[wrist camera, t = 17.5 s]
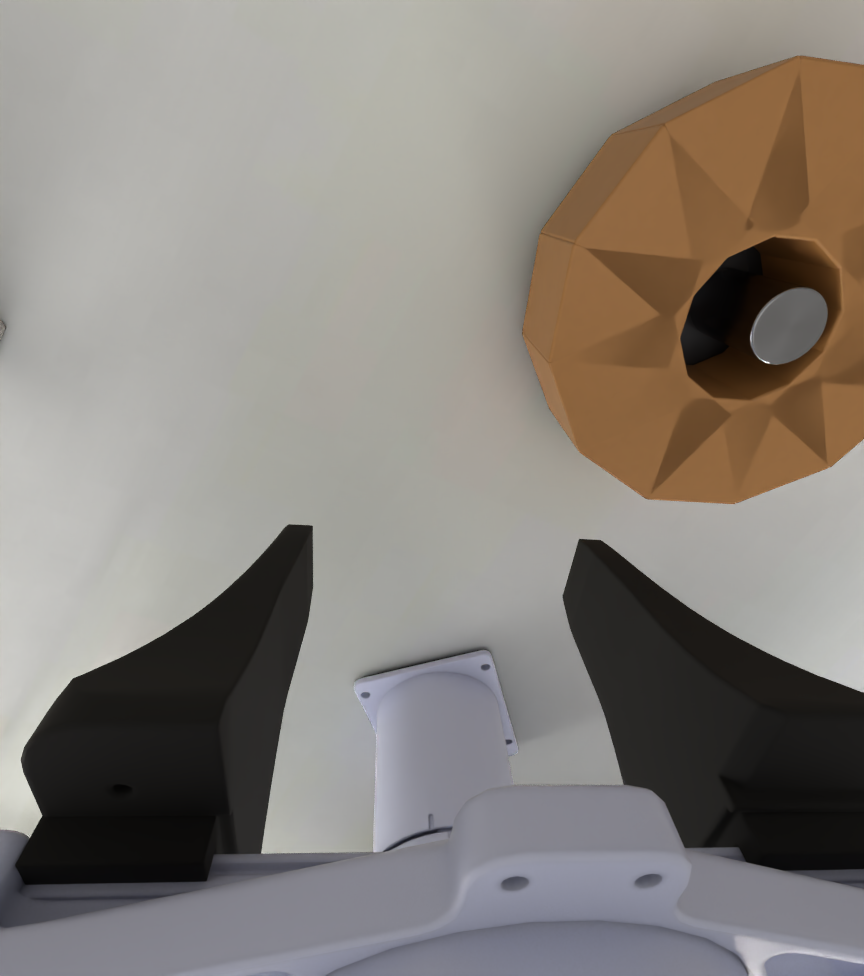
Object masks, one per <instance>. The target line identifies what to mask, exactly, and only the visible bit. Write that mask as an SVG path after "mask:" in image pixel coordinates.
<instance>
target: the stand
mask: <svg viewBox="0 0 864 976" xmlns="http://www.w3.org/2000/svg"><path fill="white" fill-rule="evenodd" d="M827 320H828V307H827V303H826V301H825V299H824V297H823V296H822V295H821V294H820V293H819V292H818V291H817V290H815V289H813V288H810V287H806V286H802V285H798V284H794V283H790V282H786V281H782V280H778V279H774V278H770V277H766V276H763V271H762V262H761V254H760V253H759V251H758V250H757V249H756V248H755V247H754V246H752V247H750V248H748V249H746V250H743V251H741V252H739V253H737V254H735V255H732V256H730V257H728V258H727V259H726V260H725V261H724V262H723V263H722V264H721V266H720V267H719V268H718V269H717V270H716V271H715V272H714V273H713V275H712V276H711V277H710V278H709V279H708V280H707V281H706V282H705V284H704V285H703V286H702V287H701V288H700V289H699V290H698V291H697V293H696V294H695V295H694V297H693V300H692V303H691V306H690V309H689V312H688V315H687V318H686V321H685V324H684V327H683V331H682V334H681V337H680V341H681V345H682V350H683V355H684V360H685V365H695V364H697V363H700V362H702V361H704V360H707V359H709V358H711V357H714V356H716V355H718V354H721V353H723V352H724V351H725V350H726V349H727V348H728V347H729V346H730V347H732V348H734V349H736V350H738V351H740V352H742V353H745V354H747V355H749V356H751V357H753V358H755V359H757V360H759V361H761V362H763V363H766V364H770V365H780V364H785V363H789V362H792V361H794V360H796V359H798V358H800V357H802V356H803V355H804V354H806V353H807V352H808V351H809V350H810V349H811V348H812V347H813V346H814V345H815V344H816V343H817V342H818V340H819V339H820V337H821V336H822V334H823V332H824V329H825V327H826V324H827Z"/></svg>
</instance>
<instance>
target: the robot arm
mask: <svg viewBox="0 0 864 976" xmlns="http://www.w3.org/2000/svg"><path fill="white" fill-rule="evenodd" d="M312 590H313V526H310V525H290V524H289V525H287V526H286V527H285V528H284V529H283V530H282V532H281V533H280V534H279V535H278V537H277V538H276V539H275V540H274V541H273V543H272V544H271V545H270V546H269V547H268V548H267V549H266V551H265V552H264V553H263V554H262V555H261V556H260V557H259V558H258V559H257V560H256V561H255V562H254V563H253V564H252V565H251V567H250V568H249V569H248V570H247V571H246V572H245V573H244V574H243V575H241V576H240V577H239V578H238V579H237V580H236V581H235V582H234V583H233V584H232V585H231V586H230V587H229V588H227V589H226V590H225V591H224V592H223V593H222V594H221V595H219V596H218V597H217V598H216V599H215V600H213V601H212V602H211V603H210V604H208V605H207V606H206V607H204V608H203V609H202V610H200V611H199V612H198V613H196V614H195V615H194V616H192V617H191V618H189V619H187V620H186V621H184V622H183V623H181V624H180V625H178V626H177V627H175V628H173V629H172V630H170V631H169V632H167V633H166V634H164V635H162V636H161V637H159V638H157V639H155V640H153V641H152V642H150V643H148V644H146V645H144V646H143V647H141V648H139V649H137V650H135V651H133V652H131V653H129V654H127V655H125V656H123V657H121V658H119V659H117V660H115V661H112V662H110V663H108V664H106V665H103V666H101V667H99V668H97V669H94V670H92V671H90V672H88V673H85V674H83V675H81V676H78V677H76V678H73V679H72V680H71V682H70V683H69V684H68V686H67V687H66V688H65V689H64V690H63V692H62V693H61V694H60V695H59V697H58V698H57V699H56V701H55V702H54V703H53V705H52V706H51V708H50V709H49V710H48V712H47V713H46V715H45V716H44V718H43V720H42V721H41V723H40V724H39V726H38V727H37V729H36V730H35V732H34V733H33V735H32V736H31V738H30V739H29V741H28V742H27V744H26V745H25V747H24V750H23V754H22V757H21V763H22V768H23V772H24V775H25V777H26V779H27V781H28V784H29V786H30V788H31V791H32V793H33V795H34V797H35V800H36V802H37V804H38V806H39V809H40V811H41V813H42V815H43V816H42V818H41V819H40V821H39V823H38V825H37V827H36V828H35V830H34V832H33V834H32V835H31V837H30V838H29V837H28V836H27V835H25V834H23V833H20V832H18V831H12V830H0V976H864V693H863V692H860V691H857V690H855V689H852V688H849V687H847V686H844V685H841V684H839V683H836V682H833V681H831V680H828V679H825V678H823V677H820V676H817V675H815V674H813V673H810V672H808V671H806V670H803V669H801V668H799V667H796V666H794V665H792V664H790V663H787V662H785V661H783V660H781V659H779V658H777V657H774V656H772V655H770V654H768V653H766V652H764V651H762V650H760V649H758V648H756V647H755V646H753V645H751V644H749V643H747V642H745V641H743V640H741V639H739V638H737V637H736V636H734V635H732V634H730V633H729V632H727V631H725V630H723V629H722V628H720V627H719V626H717V625H715V624H714V623H712V622H710V621H709V620H707V619H705V618H704V617H702V616H701V615H699V614H698V613H696V612H695V611H693V610H692V609H690V608H689V607H687V606H686V605H685V604H683V603H682V602H680V601H679V600H677V599H676V598H675V597H673V596H672V595H670V594H669V593H668V592H667V591H665V590H664V589H663V588H661V587H660V586H659V585H657V584H656V583H655V582H653V581H652V580H651V579H650V578H648V577H647V576H646V575H645V574H643V573H642V572H641V571H640V570H638V569H637V568H636V567H635V566H633V565H632V564H631V563H630V562H628V561H627V560H626V559H625V558H624V557H622V556H621V555H620V554H619V553H617V552H616V551H615V550H613V549H612V548H611V547H610V546H608V545H607V544H605V543H604V542H603V541H601V540H588V539H579V541H578V545H577V548H576V552H575V555H574V559H573V562H572V566H571V569H570V573H569V576H568V580H567V583H566V586H565V590H564V593H563V601H564V605H565V610H566V614H567V618H568V622H569V625H570V629H571V632H572V634H573V637H574V639H575V642H576V644H577V647H578V649H579V652H580V654H581V657H582V659H583V662H584V664H585V667H586V669H587V671H588V674H589V676H590V679H591V681H592V684H593V686H594V688H595V691H596V693H597V696H598V698H599V701H600V703H601V706H602V709H603V712H604V715H605V718H606V721H607V725H608V728H609V732H610V735H611V738H612V742H613V745H614V749H615V753H616V756H617V760H618V764H619V768H620V772H621V776H622V779H623V783H624V785H514V782H513V777H512V772H511V767H510V762H509V757H508V756H512V755H515V754H516V753H517V752H518V745H517V741H516V738H515V735H514V731H513V728H512V724H511V721H510V717H509V714H508V710H507V707H506V703H505V700H504V696H503V693H502V689H501V686H500V683H499V679H498V676H497V672H496V669H495V665H494V662H493V658H492V655H491V653H490V652H489V651H487V650H480V651H476V652H471V653H467V654H463V655H458V656H454V657H450V658H446V659H441V660H437V661H433V662H428V663H424V664H420V665H416V666H411V667H407V668H403V669H398V670H394V671H390V672H386V673H381V674H377V675H373V676H368V677H364V678H360V679H358V680H356V681H355V683H354V691H355V693H356V695H357V697H358V699H359V701H360V703H361V705H362V707H363V709H364V711H365V713H366V715H367V717H368V719H369V721H370V723H371V725H372V727H373V729H374V731H375V733H376V735H377V736H376V769H375V802H374V836H373V852H355V853H281V854H261V849H262V842H263V835H264V829H265V822H266V816H267V809H268V803H269V796H270V790H271V783H272V777H273V771H274V765H275V759H276V753H277V747H278V741H279V735H280V729H281V723H282V718H283V712H284V707H285V703H286V699H287V694H288V691H289V687H290V684H291V680H292V677H293V673H294V669H295V666H296V662H297V659H298V655H299V652H300V648H301V644H302V641H303V637H304V634H305V630H306V626H307V622H308V617H309V611H310V604H311V597H312ZM483 664H486V665H483Z"/></svg>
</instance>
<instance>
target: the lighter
mask: <svg viewBox="0 0 864 976" xmlns="http://www.w3.org/2000/svg"><path fill="white" fill-rule="evenodd" d="M5 328H6V327H5V325H4V323H3V321H2V320H0V340H1V338H2V336H3V333H4V331H5Z"/></svg>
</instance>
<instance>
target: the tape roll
mask: <svg viewBox="0 0 864 976" xmlns="http://www.w3.org/2000/svg"><path fill="white" fill-rule="evenodd" d="M752 246H754V247H755V248H756V249H757V250H758V251H759V253H760V254H761V262H762V271H763V276H766V277H770V278H774V279H778V280H782V281H786V282H790V283H794V284H798V285H802V286H806V287H810V288H813V289H815V290H817V291H818V292H819V293H820V294H821V295H822V296H823V297H824V299H825V301H826V303H827V307H828V320H827V324H826V327H825V329H824V332H823V334H822V336H821V337H820V339H819V340H818V342H817V343H816V344H815V345H814V346H813V347H812V348H811V349H810V350H809V351H808V352H807V353H806V354H804V355H803V356H802V357H800V358H798V359H796V360H794V361H792V362H789V363H785V364H780V365H770V364H766V363H763V362H761V361H759V360H757V359H755V358H753V357H751V356H749V355H747V354H745V353H742V352H740V351H738V350H736V349H734V348H732V347H730V346H729V347H728V348H727V349H726V350H725V351H724V352H723V353H721V354H718V355H716V356H714V357H711V358H709V359H707V360H704V361H702V362H700V363H697V364H695V365H685V360H684V355H683V350H682V345H681V341H680V337H681V334H682V331H683V327H684V324H685V321H686V318H687V315H688V312H689V309H690V306H691V303H692V300H693V297H694V295H695V294H696V293H697V291H698V290H699V289H700V288H701V287H702V286H703V285H704V284H705V282H706V281H707V280H708V279H709V278H710V277H711V276H712V275H713V273H714V272H715V271H716V270H717V269H718V268H719V267H720V266H721V264H722V263H723V262H724V261H725V260H726V259H727V258H728V257H730V256H732V255H735V254H737V253H739V252H741V251H743V250H746V249H748V248H750V247H752ZM522 331H523V332H522V335H523V337H524V340H525V343H526V346H527V348H528V351H529V354H530V357H531V360H532V362H533V365H534V368H535V371H536V373H537V376H538V379H539V382H540V384H541V387H542V390H543V393H544V396H545V398H546V401H547V404H548V407H549V409H550V411H551V412H552V413H553V415H554V416H555V418H556V419H557V421H558V422H559V424H560V425H561V426H562V428H563V429H564V431H565V432H566V434H567V435H568V437H569V438H570V439H571V441H572V442H573V444H574V445H575V447H576V448H577V449H578V451H579V452H580V453H581V454H583V455H584V456H585V457H587V458H588V459H590V460H591V461H593V462H594V463H595V464H597V465H598V466H600V467H601V468H603V469H604V470H605V471H607V472H608V473H610V474H611V475H613V476H614V477H615V478H617V479H618V480H620V481H621V482H623V483H624V484H625V485H627V486H628V487H630V488H631V489H633V490H634V491H635V492H637V493H638V494H640V495H641V496H643V497H644V498H645V499H650V500H668V501H686V502H705V503H723V504H735V503H738V502H741V501H744V500H746V499H749V498H751V497H754V496H757V495H759V494H762V493H764V492H767V491H770V490H772V489H775V488H778V487H780V486H783V485H785V484H788V483H791V482H793V481H796V480H798V479H801V478H804V477H806V476H809V475H811V474H814V473H817V472H819V471H822V470H825V469H827V468H828V467H832V466H833V465H834V464H835V463H836V462H837V461H839V460H840V459H841V458H842V457H843V456H844V455H846V454H847V453H848V452H849V451H850V450H851V449H853V448H854V447H855V446H856V445H857V444H858V443H859V442H861V441H862V440H863V439H864V65H861V64H855V63H848V62H841V61H835V60H828V59H821V58H815V57H808V56H795V57H792V58H789V59H786V60H782V61H779V62H776V63H773V64H770V65H767V66H763V67H760V68H757V69H754V70H751V71H748V72H745V73H741V74H738V75H735V76H732V77H729V78H726V79H722V80H719V81H716V82H714V83H712V84H710V85H708V86H706V87H704V88H702V89H700V90H698V91H696V92H694V93H692V94H690V95H688V96H686V97H684V98H682V99H680V100H678V101H676V102H674V103H672V104H670V105H668V106H666V107H665V108H663V109H661V110H659V111H657V112H655V113H653V114H651V115H649V116H647V117H645V118H643V119H641V120H639V121H637V122H635V123H633V124H631V125H629V126H627V127H625V128H623V129H621V130H619V131H617V132H615V133H613V134H612V135H611V137H609V138H608V139H607V141H606V142H605V143H604V145H603V146H602V148H601V149H600V150H599V152H598V153H597V154H596V156H595V157H594V159H593V160H592V161H591V163H590V164H589V165H588V167H587V168H586V170H585V171H584V172H583V174H582V175H581V176H580V178H579V179H578V181H577V182H576V183H575V185H574V186H573V187H572V189H571V190H570V192H569V193H568V194H567V196H566V197H565V198H564V200H563V201H562V202H561V204H560V205H559V207H558V208H557V209H556V211H555V212H554V213H553V215H552V216H551V218H550V219H549V220H548V222H547V223H546V224H545V226H544V227H543V229H542V231H541V233H540V235H539V241H538V246H537V252H536V258H535V263H534V269H533V274H532V280H531V285H530V291H529V297H528V302H527V308H526V313H525V319H524V324H523V330H522Z"/></svg>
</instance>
